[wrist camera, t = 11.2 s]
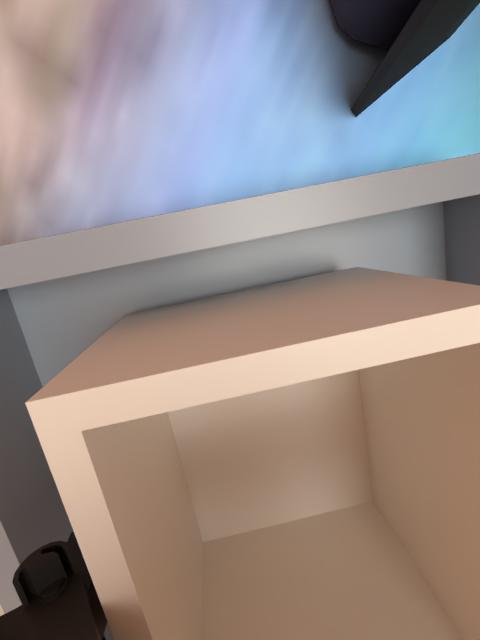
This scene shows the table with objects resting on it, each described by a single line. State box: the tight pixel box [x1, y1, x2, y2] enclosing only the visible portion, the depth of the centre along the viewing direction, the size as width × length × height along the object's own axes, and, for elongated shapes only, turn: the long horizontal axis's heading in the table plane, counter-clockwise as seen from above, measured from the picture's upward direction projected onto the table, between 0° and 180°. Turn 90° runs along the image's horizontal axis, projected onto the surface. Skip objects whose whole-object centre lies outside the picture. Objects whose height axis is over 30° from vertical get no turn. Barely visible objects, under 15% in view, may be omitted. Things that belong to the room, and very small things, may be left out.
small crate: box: [25, 267, 480, 640], centre depth 12 cm, size 12×10×8 cm
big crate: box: [0, 153, 480, 640], centre depth 15 cm, size 18×22×6 cm
